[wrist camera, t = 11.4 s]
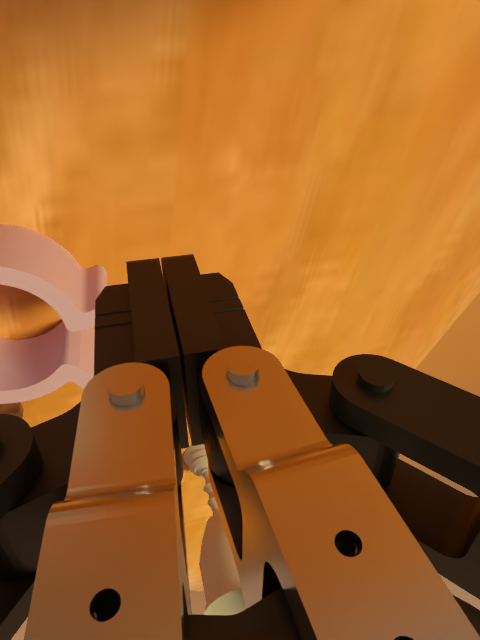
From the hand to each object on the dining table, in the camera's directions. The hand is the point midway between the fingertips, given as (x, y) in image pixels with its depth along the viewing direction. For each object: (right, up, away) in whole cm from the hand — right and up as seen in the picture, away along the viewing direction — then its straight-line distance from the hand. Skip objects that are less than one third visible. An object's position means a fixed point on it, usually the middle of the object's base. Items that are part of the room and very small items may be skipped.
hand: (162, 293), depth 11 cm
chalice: (-3, -17, +46) cm, 50 cm away
